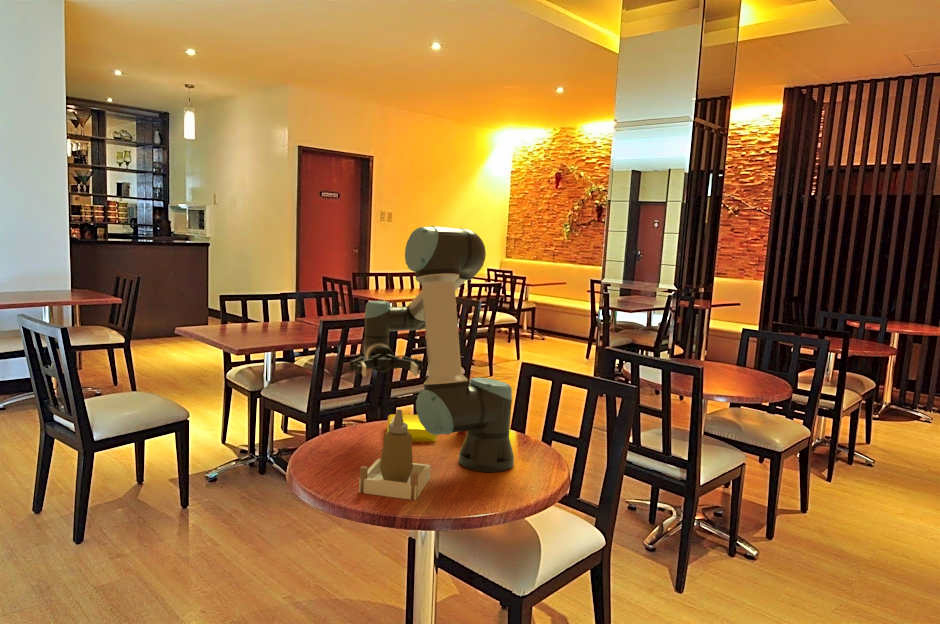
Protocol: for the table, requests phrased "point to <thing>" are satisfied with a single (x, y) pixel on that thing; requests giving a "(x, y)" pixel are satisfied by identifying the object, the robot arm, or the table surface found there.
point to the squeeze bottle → (397, 451)
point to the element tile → (414, 428)
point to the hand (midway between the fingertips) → (390, 371)
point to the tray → (393, 482)
